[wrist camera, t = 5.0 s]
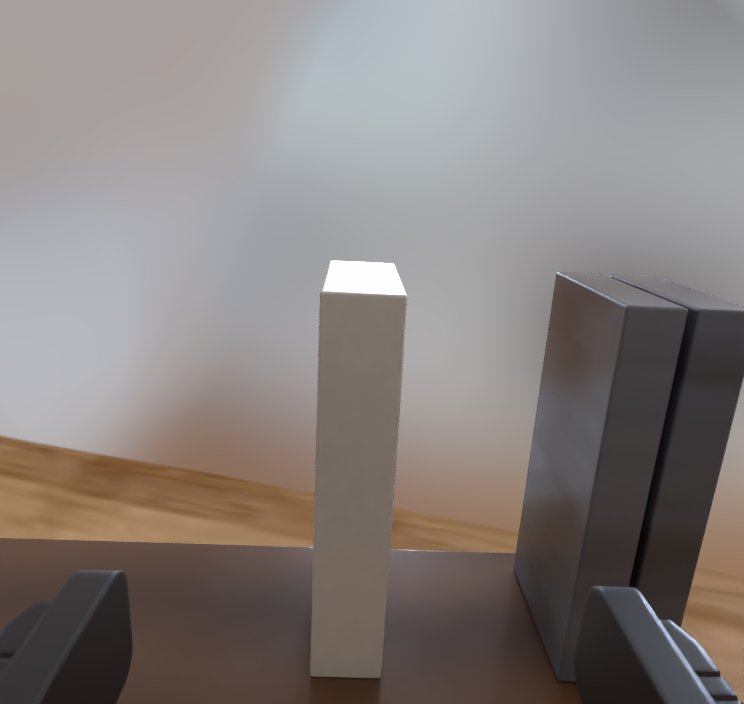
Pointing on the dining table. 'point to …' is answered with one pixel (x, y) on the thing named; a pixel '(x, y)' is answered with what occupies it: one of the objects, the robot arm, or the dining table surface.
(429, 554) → the book rack
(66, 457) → the dining table surface
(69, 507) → the dining table surface
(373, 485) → the white book
